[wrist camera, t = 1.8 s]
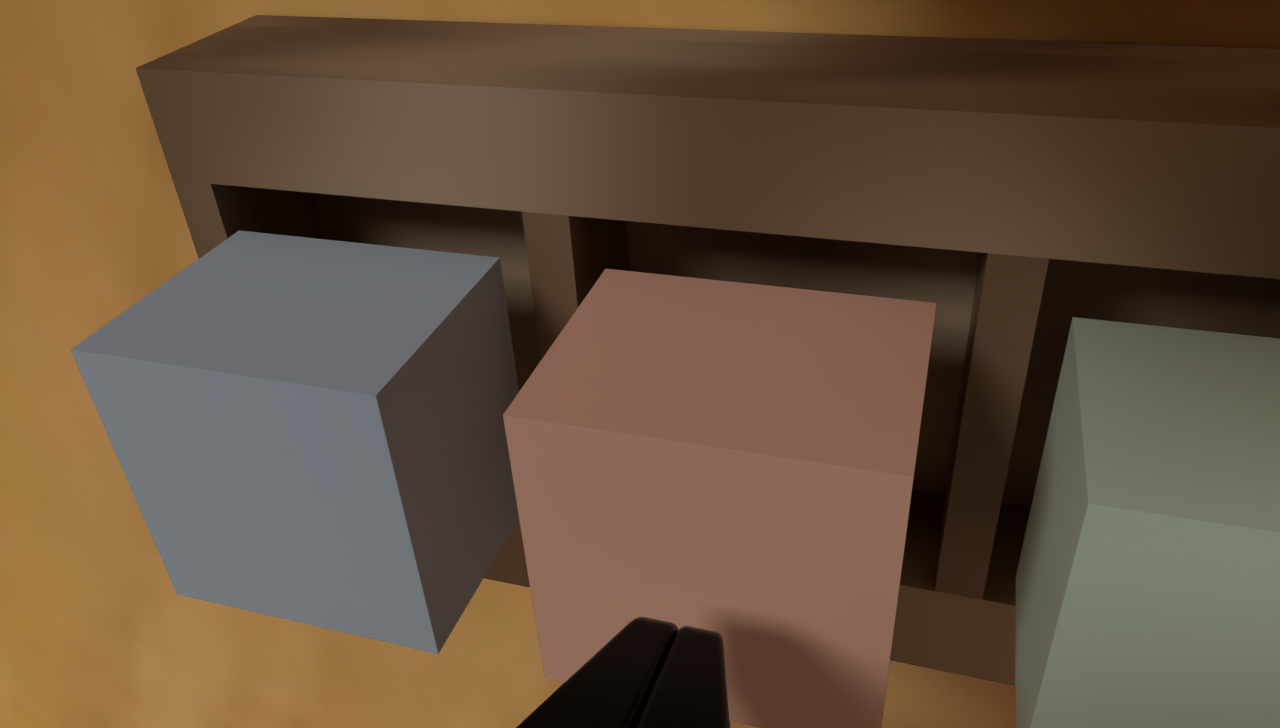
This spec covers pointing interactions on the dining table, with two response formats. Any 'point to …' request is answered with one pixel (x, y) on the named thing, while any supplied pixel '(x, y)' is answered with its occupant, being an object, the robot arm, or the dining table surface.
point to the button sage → (1154, 535)
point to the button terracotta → (727, 482)
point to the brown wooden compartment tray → (777, 208)
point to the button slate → (318, 429)
